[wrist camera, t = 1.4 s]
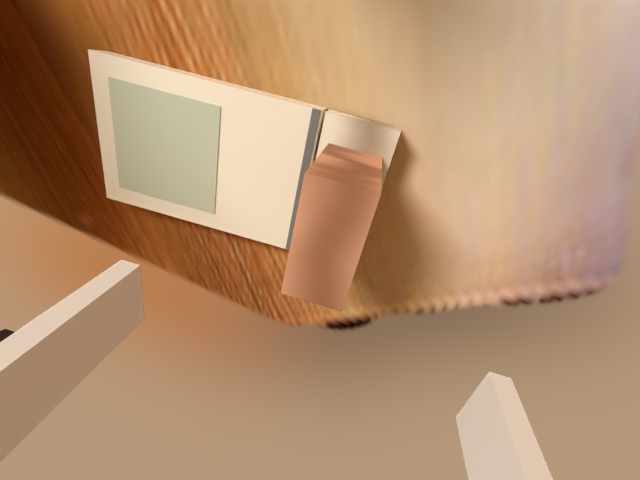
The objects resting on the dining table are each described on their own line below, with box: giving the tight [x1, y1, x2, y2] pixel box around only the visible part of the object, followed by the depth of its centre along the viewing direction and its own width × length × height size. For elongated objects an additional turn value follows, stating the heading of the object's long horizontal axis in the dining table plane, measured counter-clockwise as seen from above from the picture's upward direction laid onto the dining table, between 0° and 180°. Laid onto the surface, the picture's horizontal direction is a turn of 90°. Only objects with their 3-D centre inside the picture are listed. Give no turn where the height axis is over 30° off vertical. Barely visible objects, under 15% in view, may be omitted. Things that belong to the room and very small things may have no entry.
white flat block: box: [88, 49, 327, 250], centre depth 26 cm, size 18×12×2 cm, turn 78°
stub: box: [281, 109, 401, 311], centre depth 22 cm, size 5×12×10 cm, turn 168°
